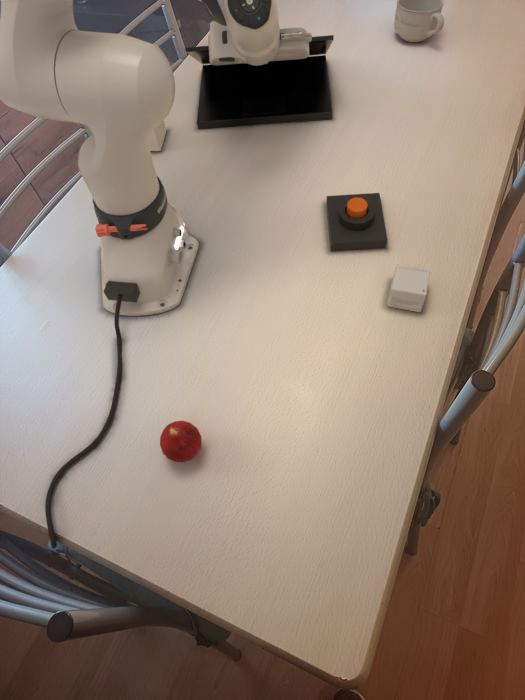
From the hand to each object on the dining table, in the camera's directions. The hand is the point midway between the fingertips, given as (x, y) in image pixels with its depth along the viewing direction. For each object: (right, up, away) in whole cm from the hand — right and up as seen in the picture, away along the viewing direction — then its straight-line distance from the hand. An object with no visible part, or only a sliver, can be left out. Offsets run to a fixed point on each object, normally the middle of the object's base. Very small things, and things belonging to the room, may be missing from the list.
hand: (260, 60), depth 106 cm
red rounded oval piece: (-11, -77, -32) cm, 84 cm away
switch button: (+17, -37, -15) cm, 43 cm away
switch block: (+18, -38, -12) cm, 44 cm away
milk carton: (-25, -15, +5) cm, 30 cm away
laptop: (+1, -2, +11) cm, 11 cm away
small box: (+25, -53, -21) cm, 62 cm away
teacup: (+39, +15, +17) cm, 45 cm away
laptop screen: (0, +4, +4) cm, 6 cm away
